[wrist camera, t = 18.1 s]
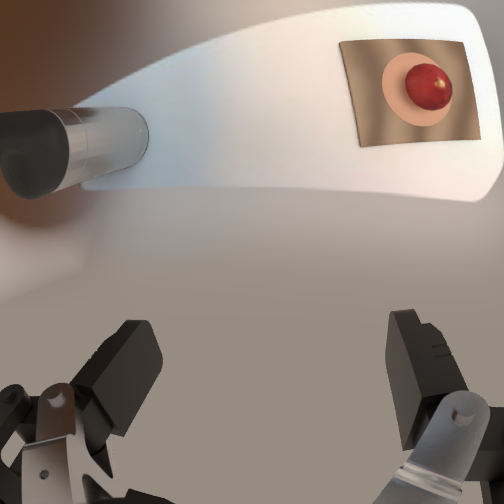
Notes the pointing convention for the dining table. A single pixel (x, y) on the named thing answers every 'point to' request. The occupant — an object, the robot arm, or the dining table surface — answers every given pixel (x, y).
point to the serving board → (396, 97)
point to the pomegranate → (428, 86)
